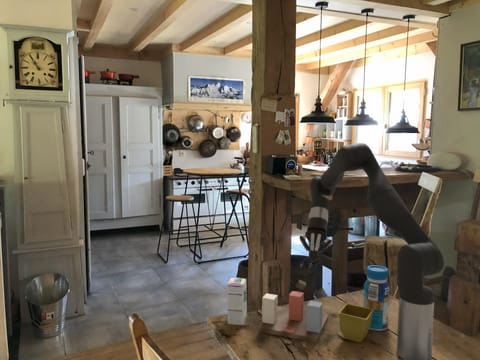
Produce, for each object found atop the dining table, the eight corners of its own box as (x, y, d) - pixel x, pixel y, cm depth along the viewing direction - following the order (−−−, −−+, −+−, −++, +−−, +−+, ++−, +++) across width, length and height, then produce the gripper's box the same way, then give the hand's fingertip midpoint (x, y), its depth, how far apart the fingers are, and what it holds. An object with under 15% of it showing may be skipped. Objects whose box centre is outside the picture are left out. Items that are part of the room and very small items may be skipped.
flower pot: (372, 335, 133) (373, 308, 132) (366, 347, 125) (367, 319, 124) (345, 329, 137) (346, 302, 136) (337, 340, 130) (338, 312, 128)
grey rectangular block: (321, 327, 134) (322, 302, 133) (319, 333, 130) (319, 307, 129) (309, 325, 136) (310, 300, 135) (306, 330, 132) (307, 305, 131)
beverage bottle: (357, 321, 142) (359, 265, 140) (378, 318, 144) (381, 263, 142) (371, 333, 134) (373, 273, 132) (393, 330, 136) (396, 271, 134)
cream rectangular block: (277, 319, 140) (277, 295, 139) (273, 324, 136) (273, 299, 135) (266, 317, 141) (266, 293, 140) (262, 322, 138) (262, 297, 137)
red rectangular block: (303, 316, 142) (303, 292, 141) (300, 321, 138) (300, 296, 137) (291, 314, 144) (292, 290, 143) (288, 319, 140) (289, 295, 139)
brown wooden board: (328, 318, 144) (328, 313, 144) (316, 343, 128) (316, 337, 128) (276, 309, 152) (276, 304, 151) (258, 331, 135) (259, 325, 135)
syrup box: (243, 325, 139) (244, 284, 137) (226, 324, 140) (226, 282, 139) (247, 318, 145) (247, 278, 143) (230, 316, 146) (230, 276, 144)
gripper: (301, 214, 163) (294, 254, 154) (335, 218, 160) (331, 260, 151) (301, 223, 170) (295, 262, 161) (334, 227, 167) (330, 267, 158)
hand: (312, 261), depth 156 cm, fingers closed
